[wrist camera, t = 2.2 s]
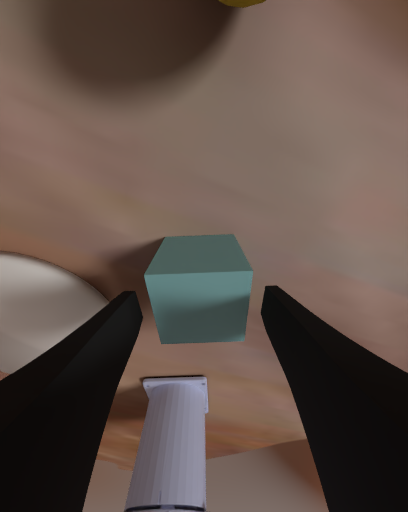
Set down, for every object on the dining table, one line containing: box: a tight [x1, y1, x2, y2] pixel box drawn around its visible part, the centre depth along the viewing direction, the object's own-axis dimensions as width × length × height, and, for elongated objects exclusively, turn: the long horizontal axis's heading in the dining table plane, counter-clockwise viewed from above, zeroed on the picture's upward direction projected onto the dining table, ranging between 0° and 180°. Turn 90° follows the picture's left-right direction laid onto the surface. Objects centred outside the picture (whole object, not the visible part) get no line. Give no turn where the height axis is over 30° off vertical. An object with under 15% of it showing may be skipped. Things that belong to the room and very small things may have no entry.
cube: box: [144, 234, 253, 344], centre depth 11 cm, size 5×5×5 cm
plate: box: [0, 251, 110, 374], centre depth 15 cm, size 16×16×1 cm
